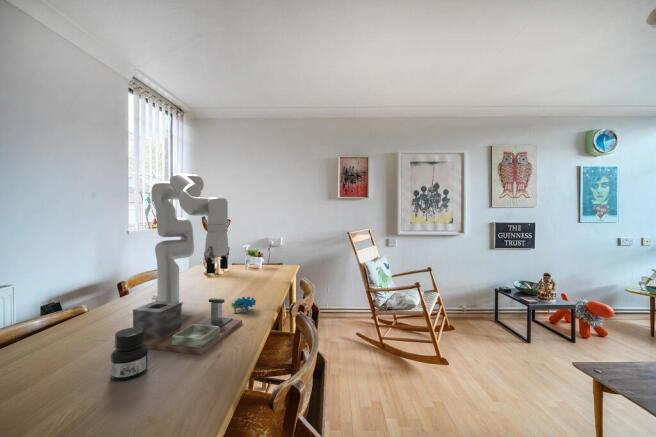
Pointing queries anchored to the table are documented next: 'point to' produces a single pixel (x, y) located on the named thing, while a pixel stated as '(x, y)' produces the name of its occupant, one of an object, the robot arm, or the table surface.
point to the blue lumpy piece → (243, 303)
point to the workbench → (179, 328)
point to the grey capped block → (216, 310)
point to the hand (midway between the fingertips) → (217, 270)
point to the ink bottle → (129, 354)
